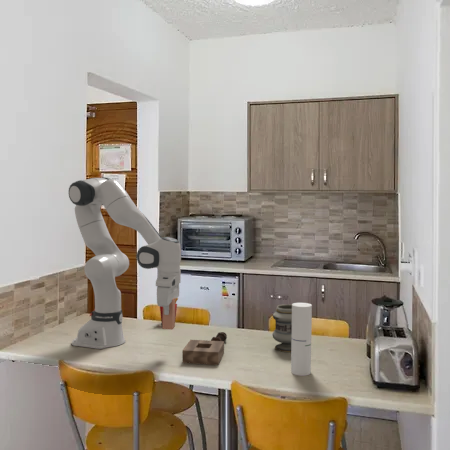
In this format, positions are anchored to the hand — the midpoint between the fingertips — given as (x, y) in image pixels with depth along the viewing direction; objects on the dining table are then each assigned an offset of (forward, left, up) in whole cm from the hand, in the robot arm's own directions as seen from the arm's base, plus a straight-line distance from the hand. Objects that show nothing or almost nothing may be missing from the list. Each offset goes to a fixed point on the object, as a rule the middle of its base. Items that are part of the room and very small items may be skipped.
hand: (168, 312), depth 196 cm
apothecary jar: (+46, +18, -18) cm, 53 cm away
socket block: (+14, 0, -18) cm, 23 cm away
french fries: (-13, +46, -18) cm, 51 cm away
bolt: (+18, +19, -18) cm, 31 cm away
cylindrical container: (+52, -9, -18) cm, 56 cm away
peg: (0, 0, -6) cm, 6 cm away
